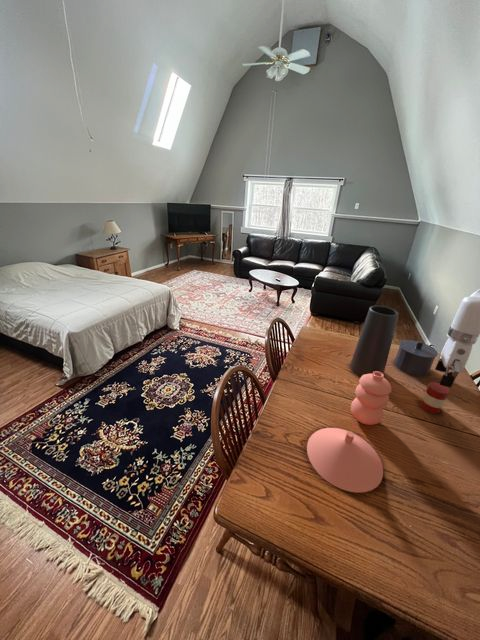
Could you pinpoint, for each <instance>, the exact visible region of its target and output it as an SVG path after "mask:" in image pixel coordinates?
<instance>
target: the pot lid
mask: <svg viewBox="0 0 480 640" xmlns="http://www.w3.org/2000/svg"><path fill="white" fill-rule="evenodd" d="M398 346H399V347H401V349H403V350H404V351H406V352H407V353H409V354H412V355H414V356H418V357H422V358H435V359H436V357H438V354H439V353H438V351H437V350H436V349H435V348H434V347H433V346H431V345H429V344H427V343H425V341H423V340H411V339H403V340H401V341H400V342H399V343H398Z"/></svg>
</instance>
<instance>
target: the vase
mask: <svg viewBox="0 0 480 640" xmlns="http://www.w3.org/2000/svg"><path fill="white" fill-rule="evenodd" d="M399 315H400V313H399V312H398V311H397V310H396V309H394V308H391V307H388V306H385V305H371V306H370V307H369V308H368V311H367V314H366V317H365V320H364V322H363V326H362V328H361V330H360V335H359V337H358V340H357V343H356V346H355V349H354V352H353V355H352V358H351V361H350V364H349V369H350V371H351V372H352V373H353V374H354V375H356V376H358V377H360V378H361V377H362V376H363V375H365V374H373V372H374V371H378V372H381V373H383V375H384V374H385V370H386V366H387V363H388V358H389V354H390V350H391V347H392V342H393V338H394V336H395V331H396V327H397V324H398V319H399Z"/></svg>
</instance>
